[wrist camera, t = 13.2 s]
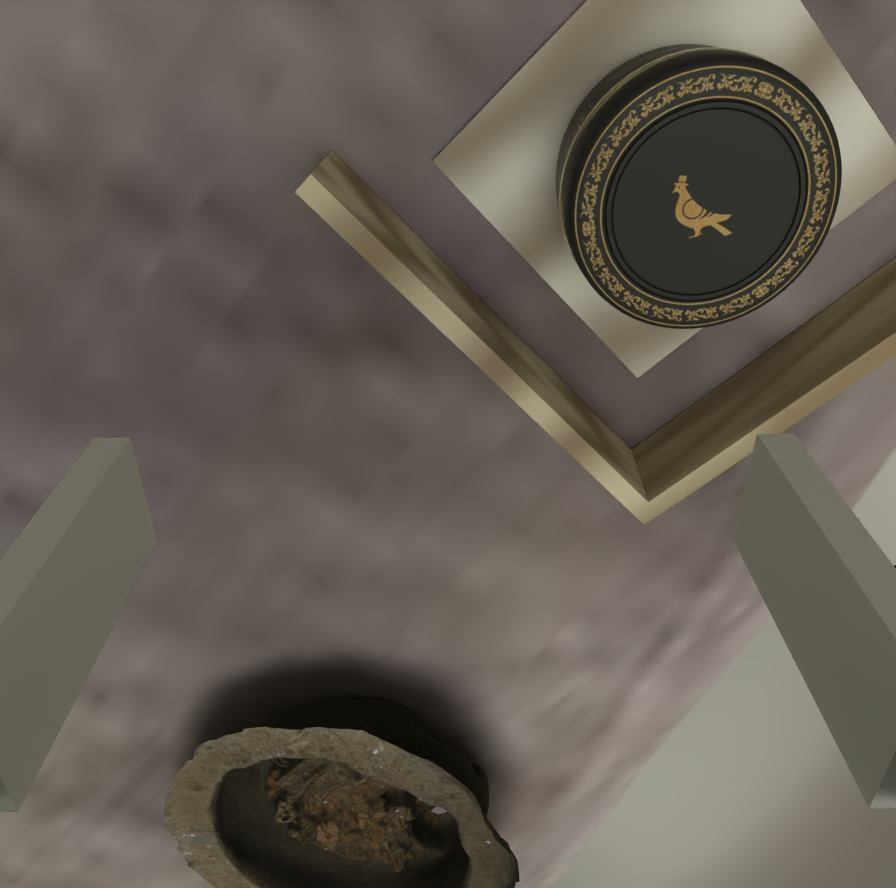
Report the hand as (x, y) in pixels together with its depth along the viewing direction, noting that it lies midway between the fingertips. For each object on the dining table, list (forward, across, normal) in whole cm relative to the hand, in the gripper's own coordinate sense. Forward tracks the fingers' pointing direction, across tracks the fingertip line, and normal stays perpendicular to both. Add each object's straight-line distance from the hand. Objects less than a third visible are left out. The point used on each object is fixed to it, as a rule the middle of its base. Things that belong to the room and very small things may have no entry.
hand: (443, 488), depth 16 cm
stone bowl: (+24, -8, -42) cm, 48 cm away
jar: (+22, +10, +2) cm, 24 cm away
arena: (+23, +9, +1) cm, 24 cm away
